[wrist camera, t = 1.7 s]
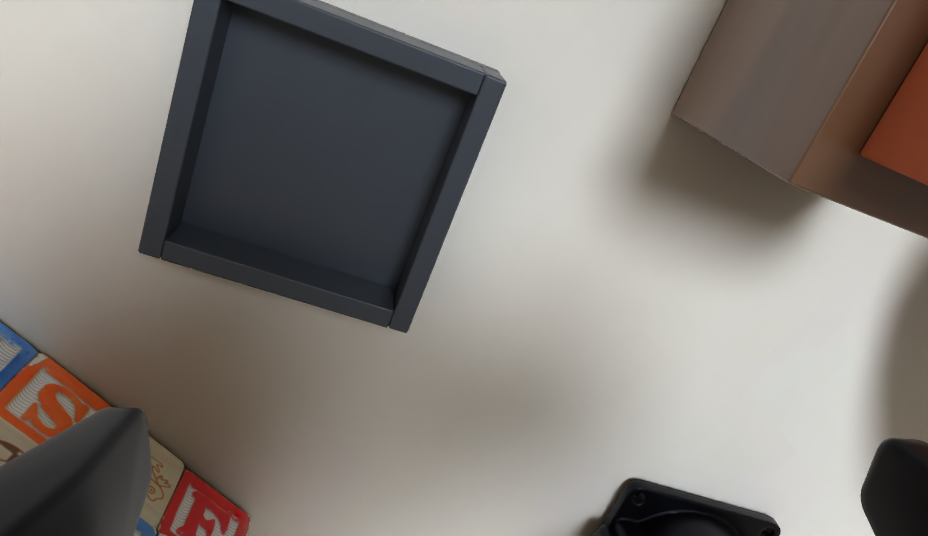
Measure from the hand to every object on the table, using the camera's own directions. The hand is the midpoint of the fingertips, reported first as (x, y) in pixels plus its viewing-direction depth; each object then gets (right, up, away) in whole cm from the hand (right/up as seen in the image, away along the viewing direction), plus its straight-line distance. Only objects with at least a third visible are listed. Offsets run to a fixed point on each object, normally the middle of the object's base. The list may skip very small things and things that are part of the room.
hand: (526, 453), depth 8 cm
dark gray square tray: (-5, +6, +12) cm, 14 cm away
